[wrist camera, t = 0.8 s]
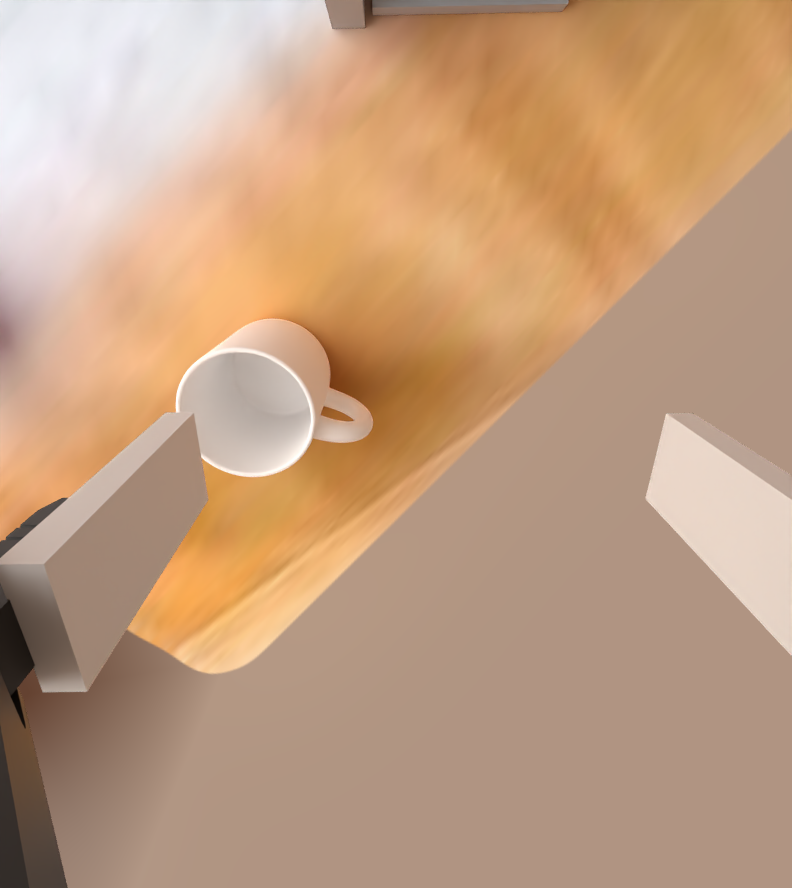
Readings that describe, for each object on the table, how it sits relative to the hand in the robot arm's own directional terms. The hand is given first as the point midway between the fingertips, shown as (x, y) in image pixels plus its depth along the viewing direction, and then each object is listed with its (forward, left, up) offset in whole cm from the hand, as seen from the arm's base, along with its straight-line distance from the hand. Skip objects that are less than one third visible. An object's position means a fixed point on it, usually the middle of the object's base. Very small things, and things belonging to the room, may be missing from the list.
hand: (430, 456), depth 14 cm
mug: (+5, -8, -26) cm, 28 cm away
